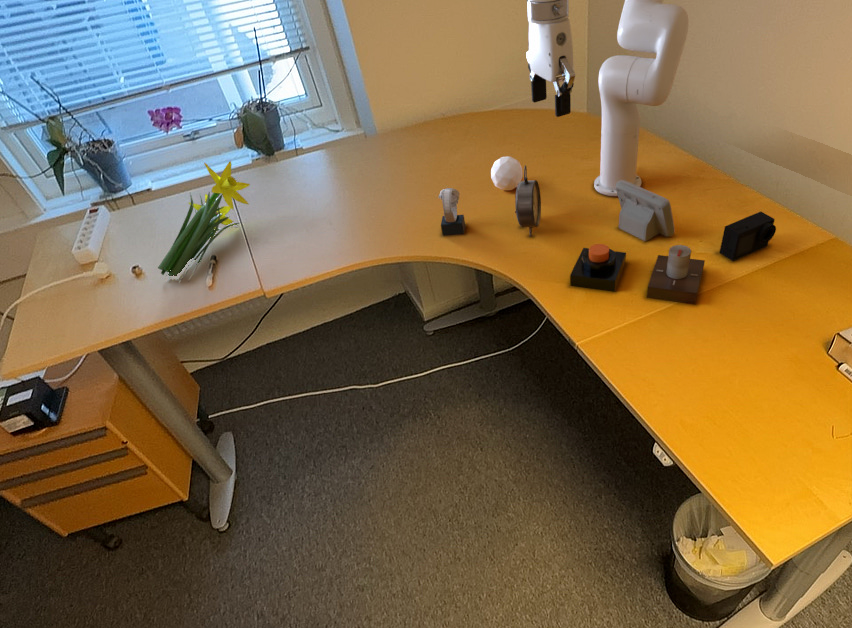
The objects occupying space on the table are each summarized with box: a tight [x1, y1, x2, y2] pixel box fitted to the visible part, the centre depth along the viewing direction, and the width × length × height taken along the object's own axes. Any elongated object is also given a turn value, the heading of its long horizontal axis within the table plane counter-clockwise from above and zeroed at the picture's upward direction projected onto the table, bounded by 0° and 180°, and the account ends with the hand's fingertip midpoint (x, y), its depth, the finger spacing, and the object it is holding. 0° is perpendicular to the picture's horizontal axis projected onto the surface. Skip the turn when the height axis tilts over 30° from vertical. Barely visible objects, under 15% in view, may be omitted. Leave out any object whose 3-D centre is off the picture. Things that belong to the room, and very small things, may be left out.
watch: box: [438, 187, 466, 237], centre depth 145 cm, size 6×8×11 cm
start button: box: [588, 243, 610, 263], centre depth 126 cm, size 4×4×2 cm
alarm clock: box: [514, 165, 542, 238], centre depth 141 cm, size 11×5×16 cm, turn 168°
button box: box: [569, 247, 627, 293], centre depth 128 cm, size 11×10×5 cm
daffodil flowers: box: [157, 160, 251, 276], centre depth 151 cm, size 17×15×35 cm
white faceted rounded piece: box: [490, 155, 524, 191], centre depth 160 cm, size 9×9×12 cm
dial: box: [666, 244, 692, 279], centre depth 121 cm, size 4×4×6 cm
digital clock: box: [616, 180, 676, 242], centre depth 137 cm, size 16×9×11 cm, turn 26°
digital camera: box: [719, 211, 777, 262], centre depth 128 cm, size 10×5×7 cm, turn 118°
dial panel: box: [646, 254, 706, 305], centre depth 124 cm, size 12×10×3 cm
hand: (550, 107), depth 117 cm, fingers open, 9 cm apart
